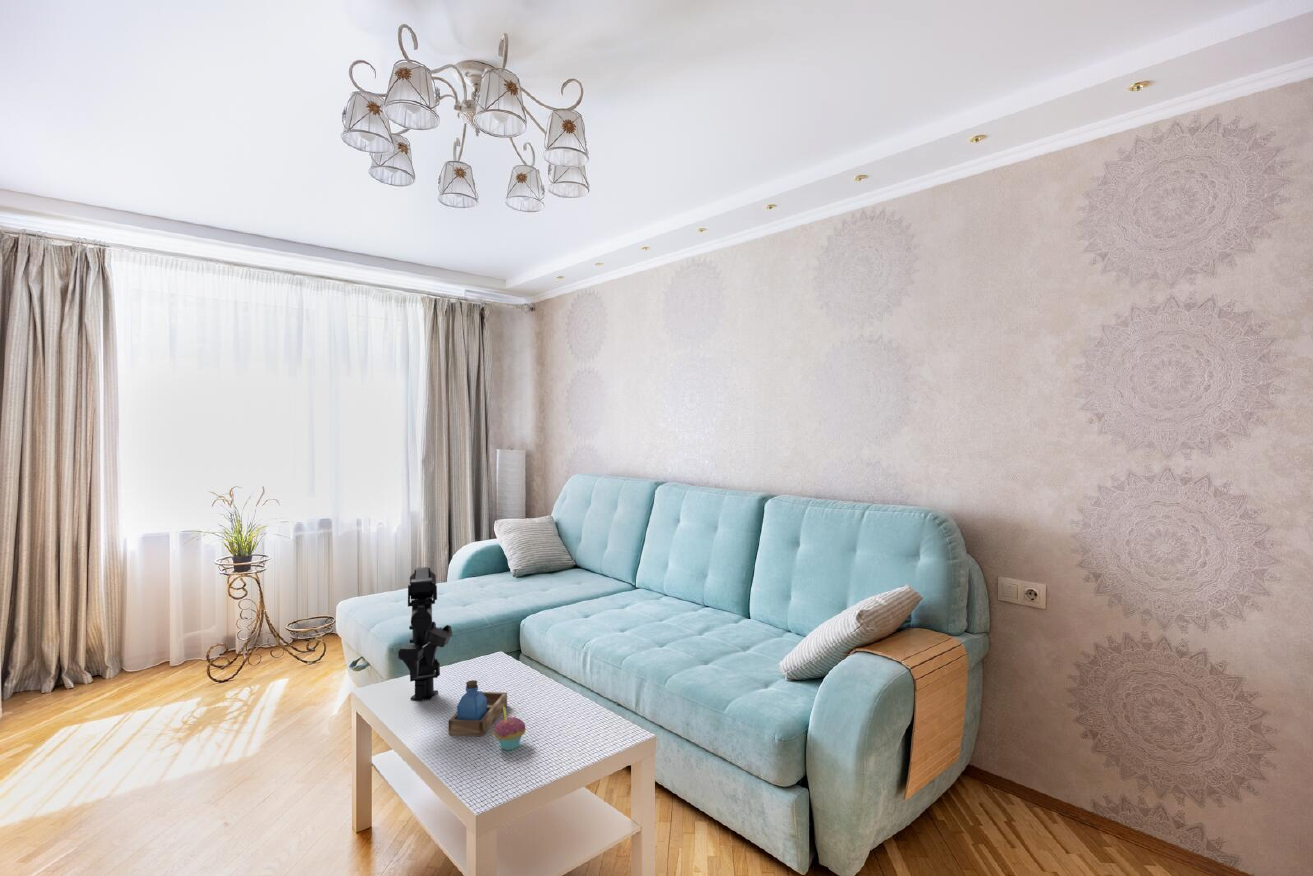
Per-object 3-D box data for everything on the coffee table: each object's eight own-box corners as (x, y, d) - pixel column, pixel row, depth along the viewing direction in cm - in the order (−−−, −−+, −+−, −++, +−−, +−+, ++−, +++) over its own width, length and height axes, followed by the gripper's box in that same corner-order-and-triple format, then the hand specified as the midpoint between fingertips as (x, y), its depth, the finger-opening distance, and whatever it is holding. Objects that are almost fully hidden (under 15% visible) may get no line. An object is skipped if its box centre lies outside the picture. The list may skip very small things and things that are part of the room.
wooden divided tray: (476, 704, 192) (476, 691, 192) (507, 705, 191) (506, 692, 191) (448, 734, 173) (448, 720, 173) (482, 736, 172) (482, 722, 172)
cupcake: (509, 757, 161) (508, 711, 161) (486, 748, 165) (486, 704, 165) (532, 742, 168) (531, 699, 168) (510, 735, 173) (509, 692, 172)
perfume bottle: (477, 729, 174) (476, 687, 174) (457, 727, 175) (456, 686, 175) (487, 719, 180) (486, 678, 180) (467, 717, 181) (466, 677, 181)
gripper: (432, 631, 176) (433, 685, 176) (460, 612, 194) (461, 660, 194) (396, 630, 177) (397, 683, 177) (427, 611, 196) (428, 660, 196)
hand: (423, 671), depth 186 cm, fingers open, 9 cm apart
